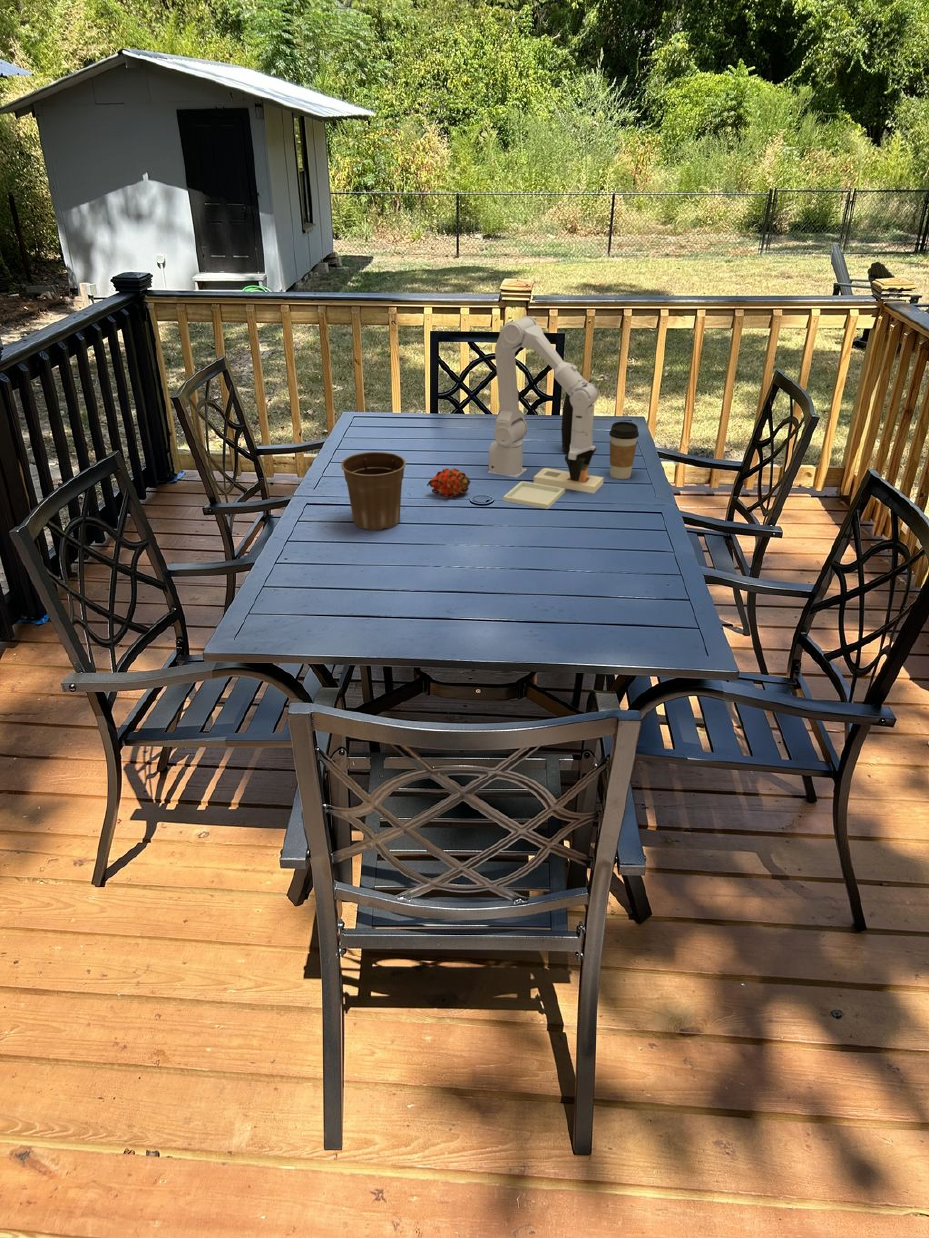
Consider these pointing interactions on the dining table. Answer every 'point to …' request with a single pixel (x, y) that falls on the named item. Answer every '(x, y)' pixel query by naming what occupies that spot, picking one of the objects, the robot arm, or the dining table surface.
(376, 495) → the plant pot
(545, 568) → the dining table surface
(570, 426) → the portable speaker
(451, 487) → the red lumpy ovoid
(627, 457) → the coffee cup
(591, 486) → the power strip
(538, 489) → the tray
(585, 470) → the plug
